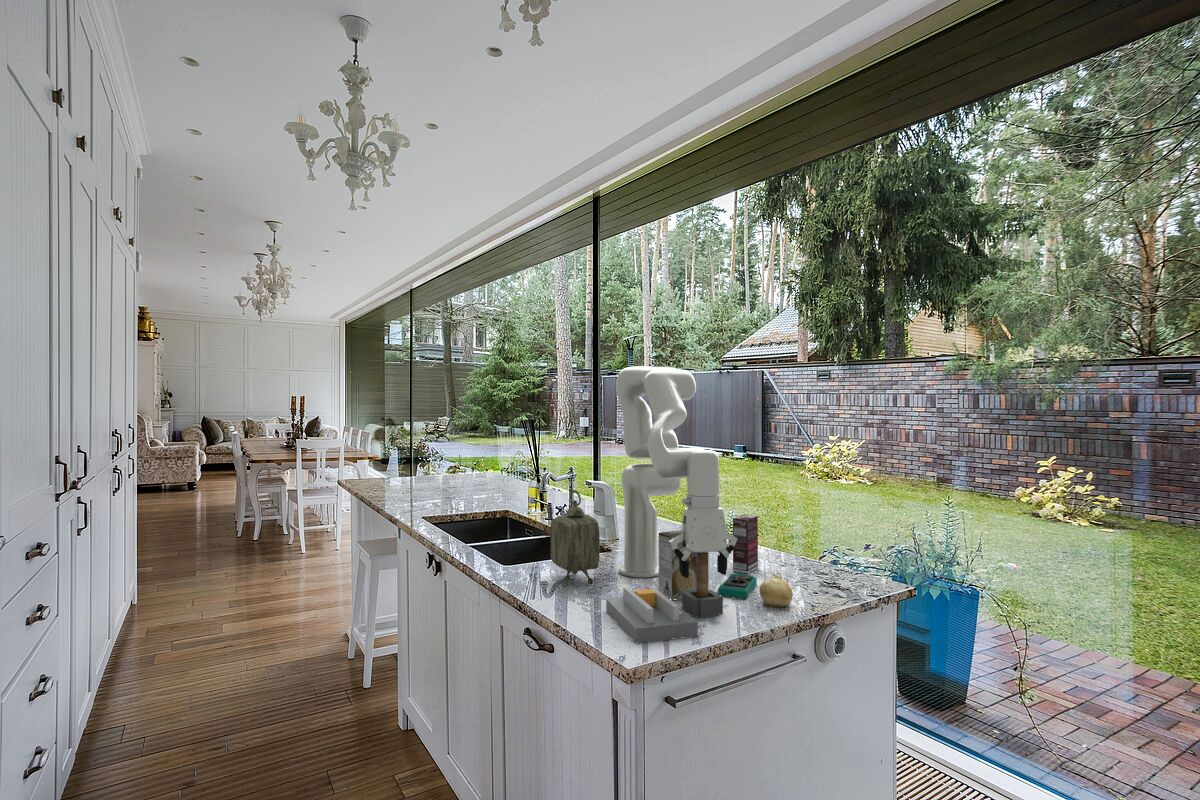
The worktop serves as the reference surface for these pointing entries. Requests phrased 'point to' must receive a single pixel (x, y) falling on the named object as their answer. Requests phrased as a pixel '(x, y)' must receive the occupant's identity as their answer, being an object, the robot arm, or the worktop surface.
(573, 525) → the tabletop clock
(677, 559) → the coffee box
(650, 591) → the breaker handle
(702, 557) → the stylus
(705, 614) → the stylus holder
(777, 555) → the worktop surface
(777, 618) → the worktop surface
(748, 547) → the supplement box
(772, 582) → the onion
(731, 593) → the digital multimeter
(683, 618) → the grey slider track base
